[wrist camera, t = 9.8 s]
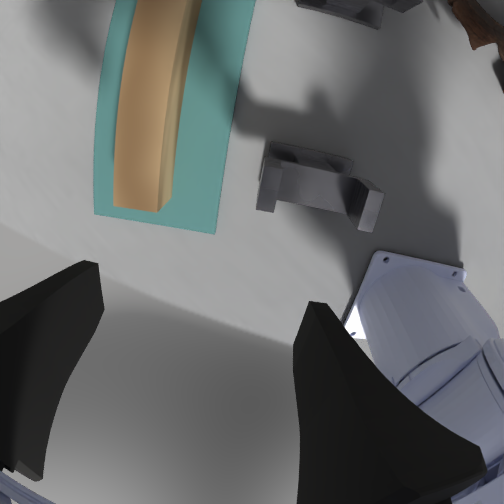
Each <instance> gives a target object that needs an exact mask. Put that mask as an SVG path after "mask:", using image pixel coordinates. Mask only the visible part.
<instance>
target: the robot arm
mask: <svg viewBox="0 0 504 504" xmlns="http://www.w3.org/2000/svg"><path fill="white" fill-rule="evenodd" d="M385 257H388V258H387V260H385V261H383V259H384V258H385ZM453 273H454V274H453ZM466 275H467V272H466V271H465V270H464V269H463V268H458V267H454V266H450V265H445V264H441V263H436V262H432V261H427V260H423V259H418V258H414V257H409V256H405V255H400V254H395V253H390V252H386V251H376V252H375V253H374V255H373V257H372V259H371V262H370V264H369V267H368V269H367V272H366V274H365V277H364V279H363V282H362V284H361V287H360V289H359V291H358V294H357V296H356V298H355V301H354V303H353V305H352V307H351V310H350V312H349V314H348V316H347V319H346V321H345V323H344V325H343V324H342V323H341V322H340V320H339V319H338V318H337V316H336V315H335V313H334V312H333V311H332V309H331V308H330V307H329V306H328V304H327V303H320V302H313V301H309V303H308V306H307V309H306V312H305V314H304V317H303V320H302V323H301V325H300V328H299V331H298V333H297V336H296V339H295V341H294V344H293V375H294V383H295V392H296V400H297V409H298V417H299V425H300V426H299V427H300V464H299V483H298V495H297V504H504V339H500V336H499V332H498V328H497V326H496V324H495V322H494V321H493V320H492V318H491V317H490V316H489V314H488V313H487V312H486V310H485V309H484V308H483V306H482V305H481V304H480V303H479V301H478V300H477V299H476V298H475V296H474V295H473V294H472V293H471V291H470V290H469V289H468V288H467V287H466V285H465V284H464V283H463V281H464V279H465V277H466ZM103 312H104V303H103V296H102V290H101V283H100V274H99V266H98V263H95V262H90V261H86V260H83V261H81V262H78V263H76V264H74V265H72V266H70V267H68V268H66V269H64V270H62V271H60V272H58V273H56V274H54V275H53V276H51V277H49V278H47V279H45V280H43V281H41V282H39V283H38V284H36V285H34V286H32V287H30V288H28V289H26V290H24V291H22V292H20V293H18V294H16V295H14V296H12V297H10V298H8V299H6V300H4V301H1V302H0V504H12V503H11V499H13V500H14V501H16V502H17V503H19V504H55V503H53V502H51V501H49V500H48V499H46V498H44V497H42V496H40V495H38V494H36V493H35V492H33V491H31V490H30V489H28V488H26V487H25V486H23V485H21V484H20V483H18V482H17V481H15V480H13V479H12V478H10V477H9V476H7V475H6V474H4V473H3V472H2V470H3V468H6V469H7V470H9V471H10V472H12V473H13V472H14V470H16V471H18V472H19V473H21V474H23V475H24V476H26V477H27V478H29V479H31V480H33V481H40V480H42V479H43V470H44V462H45V454H46V448H47V444H48V439H49V435H50V430H51V427H52V423H53V420H54V416H55V413H56V410H57V406H58V404H59V401H60V398H61V395H62V393H63V390H64V388H65V385H66V383H67V381H68V379H69V377H70V375H71V373H72V371H73V370H74V368H75V366H76V364H77V362H78V361H79V359H80V357H81V356H82V353H83V352H84V350H85V348H86V347H87V345H88V343H89V342H90V340H91V338H92V336H93V335H94V333H95V331H96V328H97V326H98V324H99V321H100V319H101V316H102V314H103ZM352 331H354V332H353V333H351V332H352ZM353 338H362V339H367V342H368V345H369V348H370V351H371V354H372V357H373V360H374V363H375V365H374V363H373V362H372V361H371V360H370V359H369V358H368V356H367V355H366V354H365V353H364V352H363V350H362V349H361V348H360V347H359V345H358V344H357V343H356V341H355V340H354V339H353ZM10 498H11V499H10Z"/></svg>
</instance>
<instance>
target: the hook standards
mask: <svg viewBox="0 0 504 504" xmlns="http://www.w3.org/2000/svg"><path fill="white" fill-rule="evenodd" d="M422 2H423V0H299V3H298V7H301V8H306V9H310V10H315V11H319V12H323V13H327V14H330V15H334V16H338V17H341V18H344V19H348V20H351V21H354V22H357V23H360V24H363V25H366V26H369V27H372V28H374V29H377V30H378V29H379V28H381V22H382V15H383V7H384V6H387V7H389V8H392V9H394V10H396V11H399V12H401V13H404V12H406V11H407V10H409V9H411V8H413V7H414V6H416V5H418V4H420V3H422ZM352 165H353V161H352V160H350V159H347V158H343V157H339V156H335V155H331V154H327V153H323V152H319V151H315V150H310V149H306V148H301V147H297V146H292V145H287V144H282V143H277V142H272V141H271V146H270V151H269V156H268V157H264V162H263V167H262V173H261V178H260V183H259V189H258V194H257V203H256V210H262V211H267V212H272V213H274V209H275V204H276V200H280V201H285V202H291V203H296V204H301V205H305V206H310V207H315V208H320V209H325V210H329V211H334V212H338V213H343V214H347V215H348V217H349V218H350V220H351V221H352V223H353V224H354V226H355V227H356V229H357V230H361V231H366V232H370V233H372V232H373V229H374V226H375V223H376V220H377V217H378V214H379V211H380V208H381V205H382V202H383V198H384V195H385V193H383V192H382V191H381V190H380V189H379V188H377V187H376V186H375V185H374V184H372V183H371V182H370V181H369V180H365V179H361V178H358V177H354V176H350V172H351V169H352Z"/></svg>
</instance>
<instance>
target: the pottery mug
mask: <svg viewBox="0 0 504 504" xmlns="http://www.w3.org/2000/svg"><path fill="white" fill-rule="evenodd" d="M447 1H448V4H449V5H450V6H452V12H453V13H454V15H455V16H456V18H457V19H458V20H459V21H460V22H461V24H462V25H463V27H464V28H465V30H466V32H467V34H468V37H469V42H470V45H471V47H472V50H476V48H478V47H481V46H484V45H487V44H491V43H497V44H498V52H499V55H500V57H501V58H502V60H503V62H504V27H503V26H502V25H500V24H499V23H498V22H496V21H495V20H494V19H493V18H492V17H491V16H490V15H489V14H488V13H487V12H486V11H485V10H484V9H483V8H482V7H481V6H480V5H479V3H478V2H477V1H476V0H447ZM503 93H504V90H503Z"/></svg>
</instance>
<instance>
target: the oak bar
mask: <svg viewBox="0 0 504 504" xmlns="http://www.w3.org/2000/svg"><path fill="white" fill-rule="evenodd" d="M201 3H202V0H138V1H137V5H136V9H135V13H134V17H133V22H132V26H131V30H130V35H129V40H128V45H127V50H126V56H125V61H124V67H123V74H122V81H121V88H120V96H119V104H118V114H117V124H116V137H115V153H114V183H113V206H116V207H123V208H129V209H136V210H142V211H149V212H155V213H157V212H158V211H159V210H160V209H161V208H162V207H163V206H164V205H165V204H166V203H167V202H168V201H169V200H170V199H171V198H172V187H173V176H174V166H175V156H176V147H177V138H178V130H179V123H180V115H181V108H182V101H183V95H184V88H185V82H186V76H187V71H188V65H189V60H190V54H191V49H192V44H193V39H194V34H195V30H196V25H197V21H198V16H199V12H200V8H201Z"/></svg>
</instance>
